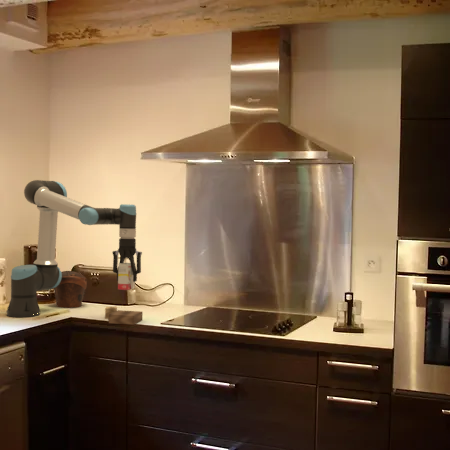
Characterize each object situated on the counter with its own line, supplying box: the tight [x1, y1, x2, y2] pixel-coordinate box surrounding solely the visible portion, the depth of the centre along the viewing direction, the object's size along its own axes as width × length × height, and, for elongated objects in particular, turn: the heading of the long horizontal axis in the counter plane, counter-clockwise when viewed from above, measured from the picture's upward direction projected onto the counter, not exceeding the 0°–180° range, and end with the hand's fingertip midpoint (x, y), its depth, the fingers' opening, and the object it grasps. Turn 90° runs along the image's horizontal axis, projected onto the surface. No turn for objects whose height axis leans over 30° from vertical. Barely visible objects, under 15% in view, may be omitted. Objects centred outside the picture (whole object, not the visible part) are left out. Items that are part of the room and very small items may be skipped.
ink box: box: [117, 262, 133, 291], centre depth 288 cm, size 9×5×12 cm, turn 163°
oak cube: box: [104, 306, 118, 320], centre depth 298 cm, size 5×5×5 cm
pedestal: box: [108, 309, 144, 326], centre depth 288 cm, size 12×12×4 cm
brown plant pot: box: [53, 270, 88, 309], centre depth 329 cm, size 18×20×18 cm
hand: (126, 288), depth 288 cm, fingers closed on ink box, 5 cm apart
